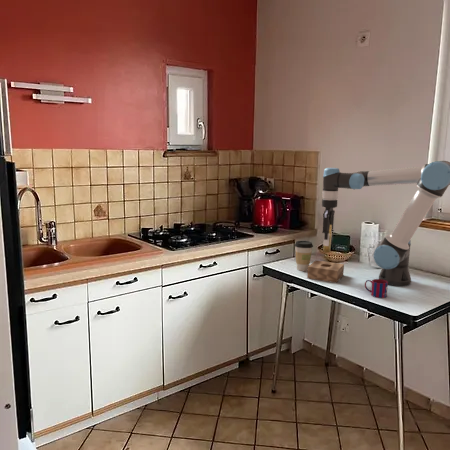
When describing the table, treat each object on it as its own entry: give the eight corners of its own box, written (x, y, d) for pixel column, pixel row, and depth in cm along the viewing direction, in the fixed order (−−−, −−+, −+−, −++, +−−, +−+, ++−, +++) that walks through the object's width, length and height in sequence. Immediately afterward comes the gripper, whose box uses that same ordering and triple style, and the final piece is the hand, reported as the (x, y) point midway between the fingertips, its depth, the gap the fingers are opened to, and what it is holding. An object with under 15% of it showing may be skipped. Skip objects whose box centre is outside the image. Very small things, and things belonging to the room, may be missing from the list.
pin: (331, 251, 233) (332, 224, 231) (329, 252, 230) (330, 225, 228) (324, 250, 235) (325, 223, 232) (322, 251, 232) (323, 224, 229)
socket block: (343, 275, 238) (344, 264, 237) (336, 282, 226) (337, 270, 224) (315, 271, 244) (315, 260, 243) (307, 278, 232) (307, 266, 231)
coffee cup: (311, 272, 242) (313, 245, 239) (293, 271, 244) (294, 243, 241) (312, 267, 251) (313, 240, 249) (294, 266, 253) (295, 239, 251)
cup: (382, 299, 203) (384, 284, 202) (361, 293, 209) (362, 279, 208) (389, 295, 208) (390, 281, 207) (368, 290, 214) (369, 276, 213)
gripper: (326, 196, 236) (324, 240, 241) (317, 200, 222) (315, 247, 226) (341, 197, 233) (338, 242, 237) (333, 201, 219) (330, 249, 223)
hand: (327, 244), depth 232 cm, fingers closed on pin, 3 cm apart
